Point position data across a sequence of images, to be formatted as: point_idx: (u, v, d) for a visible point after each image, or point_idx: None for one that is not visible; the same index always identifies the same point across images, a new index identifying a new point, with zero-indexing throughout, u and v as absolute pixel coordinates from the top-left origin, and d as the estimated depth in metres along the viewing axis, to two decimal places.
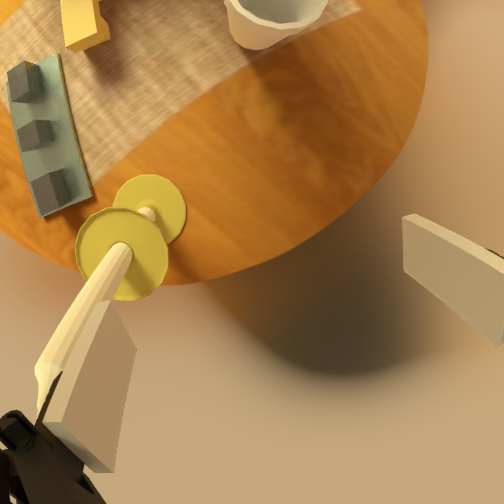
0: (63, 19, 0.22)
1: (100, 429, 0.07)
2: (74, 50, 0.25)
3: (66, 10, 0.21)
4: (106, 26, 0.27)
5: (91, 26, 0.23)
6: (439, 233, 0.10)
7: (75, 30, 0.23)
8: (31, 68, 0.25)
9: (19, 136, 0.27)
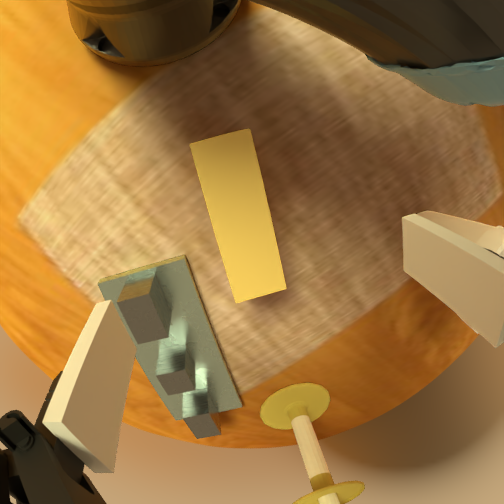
0: (224, 255, 0.22)
1: (100, 429, 0.07)
2: None
3: (226, 237, 0.21)
4: None
5: (277, 278, 0.23)
6: (439, 233, 0.10)
7: (250, 279, 0.23)
8: (155, 293, 0.25)
9: (161, 381, 0.27)
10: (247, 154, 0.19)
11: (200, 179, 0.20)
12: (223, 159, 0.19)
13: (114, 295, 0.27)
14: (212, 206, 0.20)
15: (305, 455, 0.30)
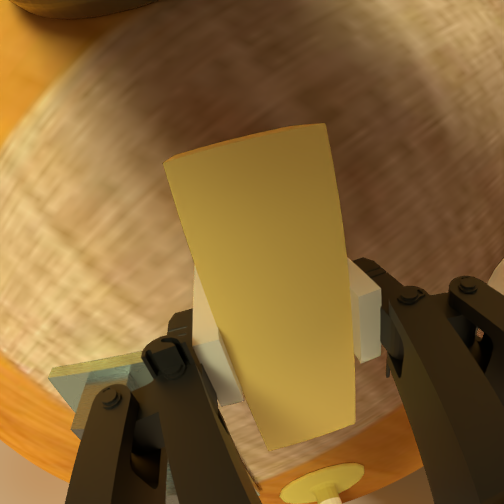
0: (251, 397, 0.10)
1: None
2: None
3: (258, 371, 0.09)
4: None
5: (343, 414, 0.11)
6: None
7: (297, 423, 0.11)
8: None
9: None
10: (317, 190, 0.08)
11: (195, 256, 0.08)
12: (256, 203, 0.07)
13: (74, 394, 0.16)
14: (227, 316, 0.08)
15: None
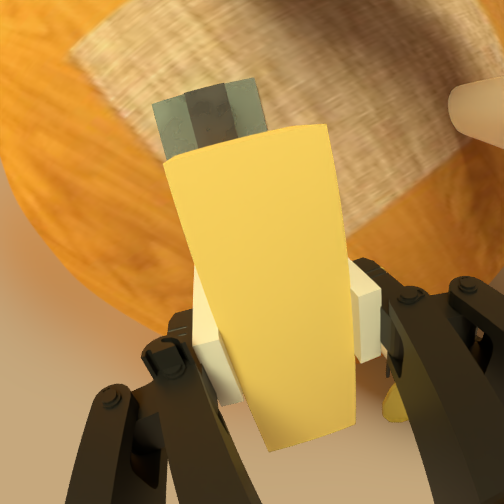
0: (252, 398, 0.10)
1: None
2: None
3: (258, 372, 0.09)
4: None
5: (344, 415, 0.11)
6: None
7: (298, 424, 0.11)
8: None
9: None
10: (318, 191, 0.08)
11: (195, 257, 0.08)
12: (257, 204, 0.07)
13: (169, 117, 0.24)
14: (228, 317, 0.08)
15: None
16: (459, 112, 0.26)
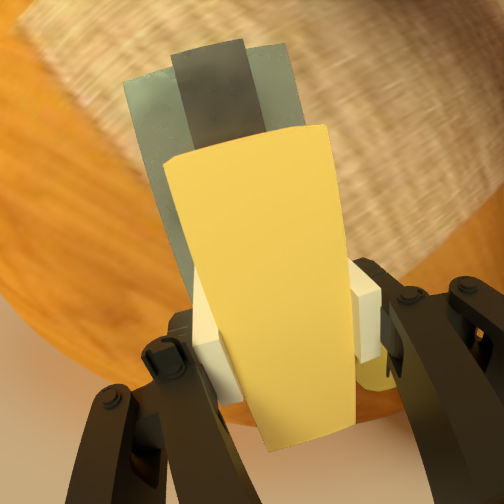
0: (252, 399, 0.10)
1: None
2: None
3: (258, 373, 0.09)
4: None
5: (344, 415, 0.11)
6: None
7: (297, 425, 0.11)
8: None
9: None
10: (318, 192, 0.08)
11: (195, 258, 0.08)
12: (257, 204, 0.07)
13: (149, 102, 0.14)
14: (228, 318, 0.08)
15: None
16: None
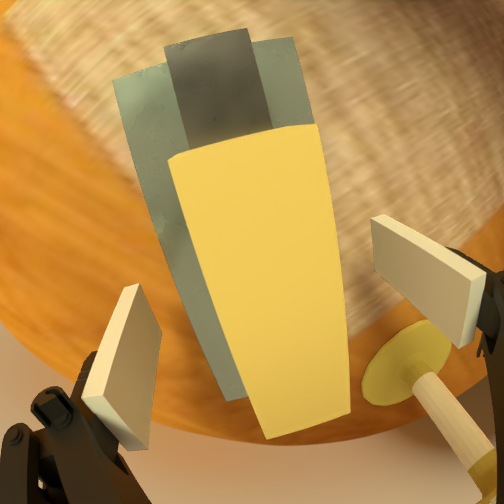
0: (249, 384, 0.10)
1: (136, 405, 0.08)
2: None
3: (255, 358, 0.10)
4: None
5: (339, 402, 0.12)
6: (403, 233, 0.11)
7: (294, 411, 0.11)
8: None
9: None
10: (309, 186, 0.08)
11: (197, 246, 0.08)
12: (253, 197, 0.08)
13: (142, 102, 0.13)
14: (226, 303, 0.09)
15: (455, 430, 0.15)
16: None
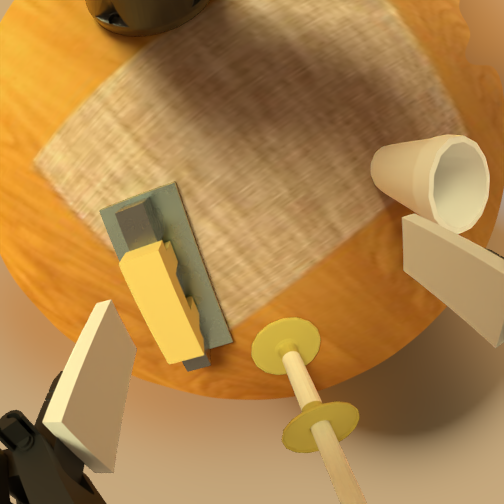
0: (154, 334, 0.29)
1: (100, 429, 0.07)
2: None
3: (154, 323, 0.28)
4: (194, 307, 0.34)
5: (195, 348, 0.30)
6: (439, 233, 0.10)
7: (176, 349, 0.30)
8: (148, 208, 0.29)
9: None
10: (159, 268, 0.27)
11: (129, 287, 0.27)
12: (143, 273, 0.27)
13: (113, 220, 0.31)
14: (141, 304, 0.27)
15: (296, 386, 0.33)
16: (378, 178, 0.33)
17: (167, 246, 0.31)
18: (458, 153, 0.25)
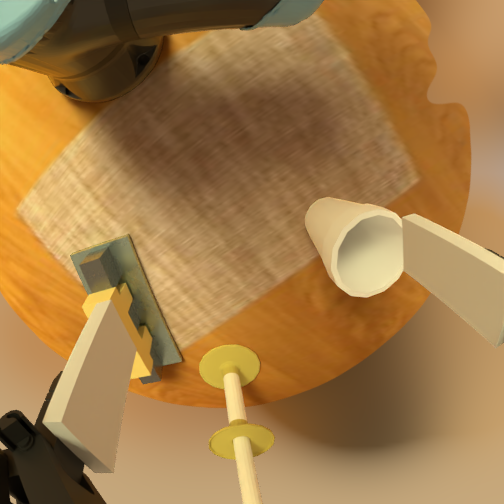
0: None
1: (100, 429, 0.07)
2: None
3: None
4: (146, 334, 0.40)
5: (143, 369, 0.36)
6: (439, 233, 0.10)
7: None
8: (105, 260, 0.35)
9: None
10: None
11: None
12: None
13: None
14: None
15: (228, 404, 0.39)
16: (308, 232, 0.39)
17: (122, 289, 0.37)
18: (381, 218, 0.31)
